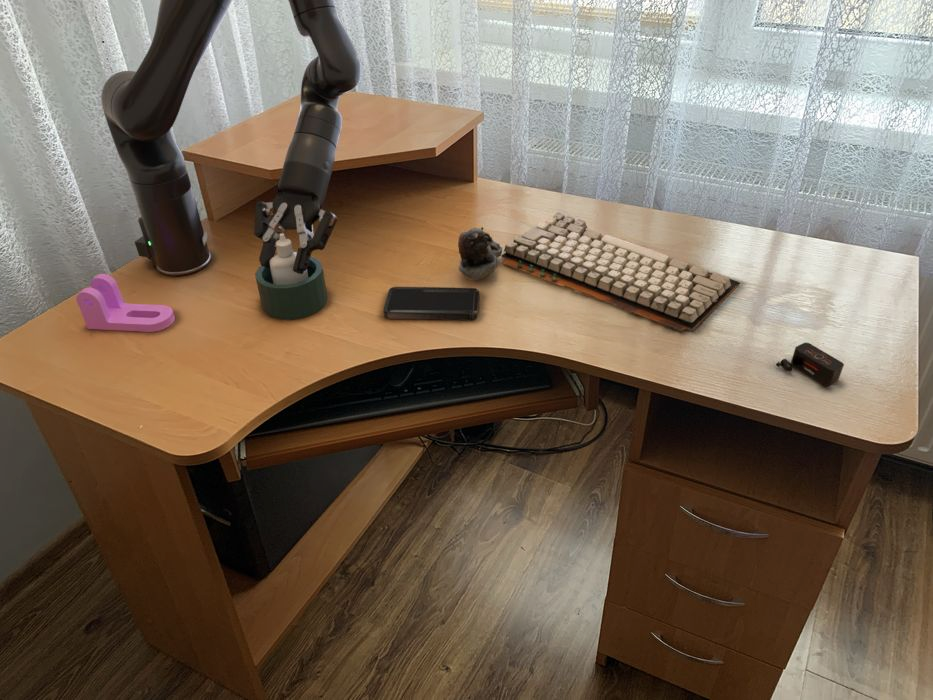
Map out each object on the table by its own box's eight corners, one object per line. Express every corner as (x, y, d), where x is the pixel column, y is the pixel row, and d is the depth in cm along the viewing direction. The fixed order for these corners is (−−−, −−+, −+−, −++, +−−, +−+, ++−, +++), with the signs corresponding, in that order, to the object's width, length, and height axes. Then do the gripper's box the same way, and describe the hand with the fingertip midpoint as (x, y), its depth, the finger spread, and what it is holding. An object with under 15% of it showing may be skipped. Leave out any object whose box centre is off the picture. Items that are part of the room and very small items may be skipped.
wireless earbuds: (796, 356, 106) (801, 338, 104) (839, 383, 101) (845, 364, 100) (774, 367, 105) (779, 349, 103) (817, 395, 100) (823, 376, 98)
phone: (476, 314, 115) (382, 312, 116) (476, 320, 116) (382, 318, 117) (479, 287, 121) (390, 285, 123) (479, 293, 122) (390, 291, 123)
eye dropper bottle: (305, 307, 119) (293, 242, 112) (273, 304, 120) (259, 240, 113) (315, 293, 123) (303, 229, 115) (284, 290, 124) (270, 226, 116)
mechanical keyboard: (740, 283, 123) (744, 266, 121) (689, 337, 111) (693, 319, 109) (551, 223, 142) (552, 207, 140) (491, 263, 131) (491, 247, 129)
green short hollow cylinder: (249, 313, 119) (242, 281, 116) (284, 280, 127) (278, 250, 124) (306, 324, 116) (300, 292, 113) (338, 290, 124) (333, 259, 121)
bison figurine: (465, 252, 134) (463, 201, 128) (503, 253, 133) (504, 202, 127) (456, 287, 124) (453, 234, 118) (497, 289, 123) (497, 235, 117)
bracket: (88, 328, 117) (72, 291, 113) (105, 309, 121) (91, 273, 117) (165, 332, 116) (152, 295, 111) (180, 312, 120) (168, 276, 116)
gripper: (357, 183, 119) (331, 283, 118) (280, 172, 124) (255, 269, 122) (337, 164, 112) (309, 270, 111) (257, 154, 116) (229, 256, 115)
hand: (281, 269), depth 116 cm, fingers closed on eye dropper bottle, 5 cm apart
